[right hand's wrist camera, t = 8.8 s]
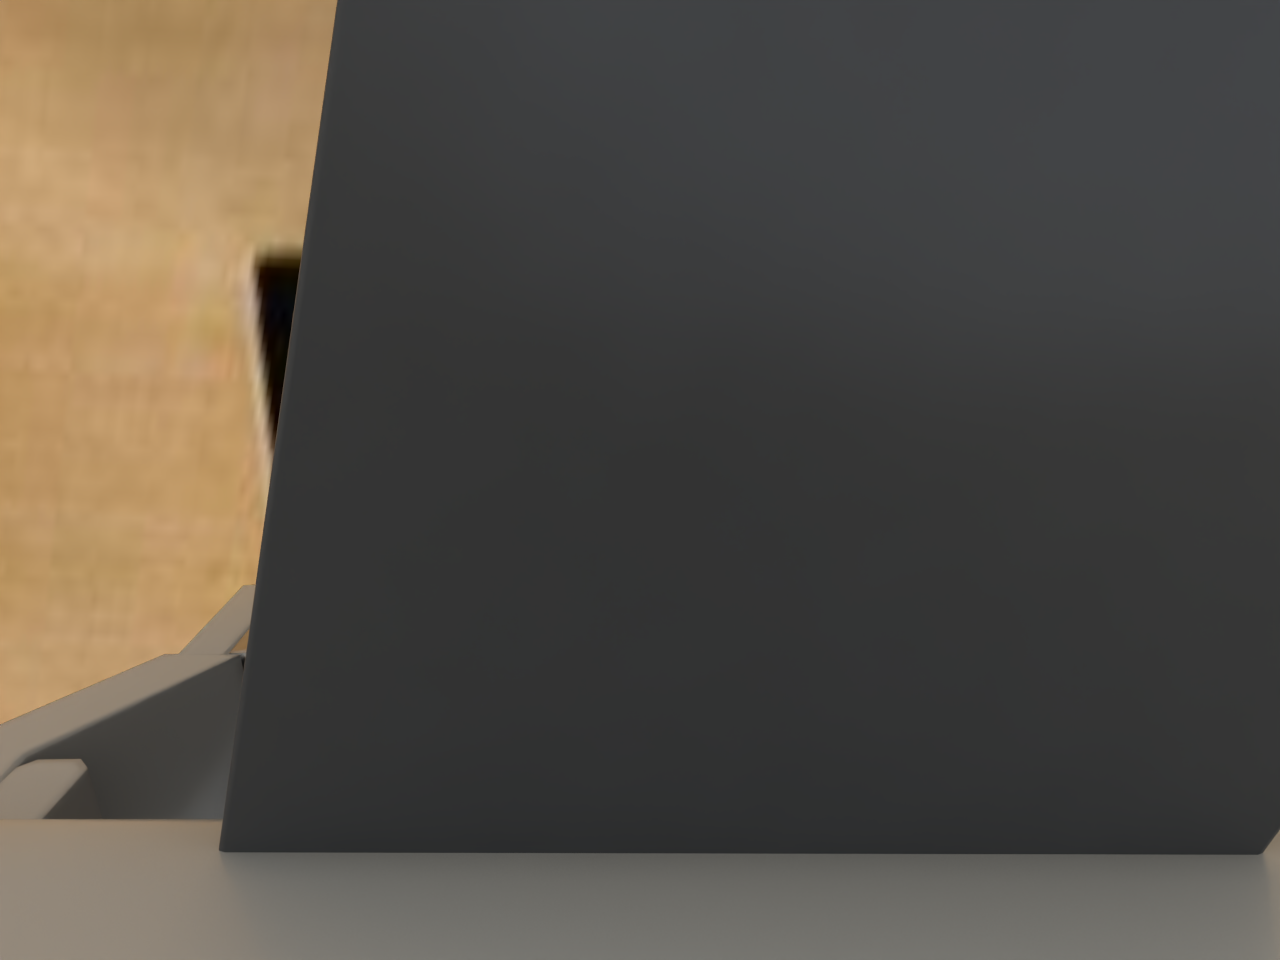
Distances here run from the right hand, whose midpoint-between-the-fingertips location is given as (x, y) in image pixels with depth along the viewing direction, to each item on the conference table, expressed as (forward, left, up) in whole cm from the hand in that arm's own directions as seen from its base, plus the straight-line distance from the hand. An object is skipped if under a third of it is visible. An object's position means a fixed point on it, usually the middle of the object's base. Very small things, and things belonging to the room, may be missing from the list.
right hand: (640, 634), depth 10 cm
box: (+5, +5, -6) cm, 10 cm away
